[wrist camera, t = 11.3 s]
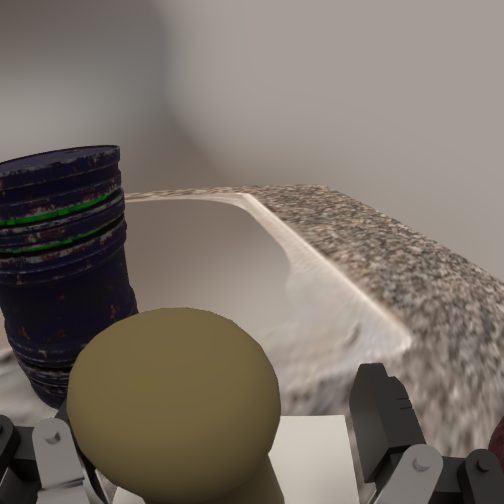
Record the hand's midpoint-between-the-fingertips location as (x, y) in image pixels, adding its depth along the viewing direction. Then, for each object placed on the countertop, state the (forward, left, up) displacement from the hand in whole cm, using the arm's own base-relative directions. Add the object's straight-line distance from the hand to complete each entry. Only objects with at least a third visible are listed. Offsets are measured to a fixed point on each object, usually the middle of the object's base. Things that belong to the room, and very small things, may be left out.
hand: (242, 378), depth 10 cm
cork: (-1, -2, -7) cm, 8 cm away
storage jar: (-12, +7, -8) cm, 16 cm away
